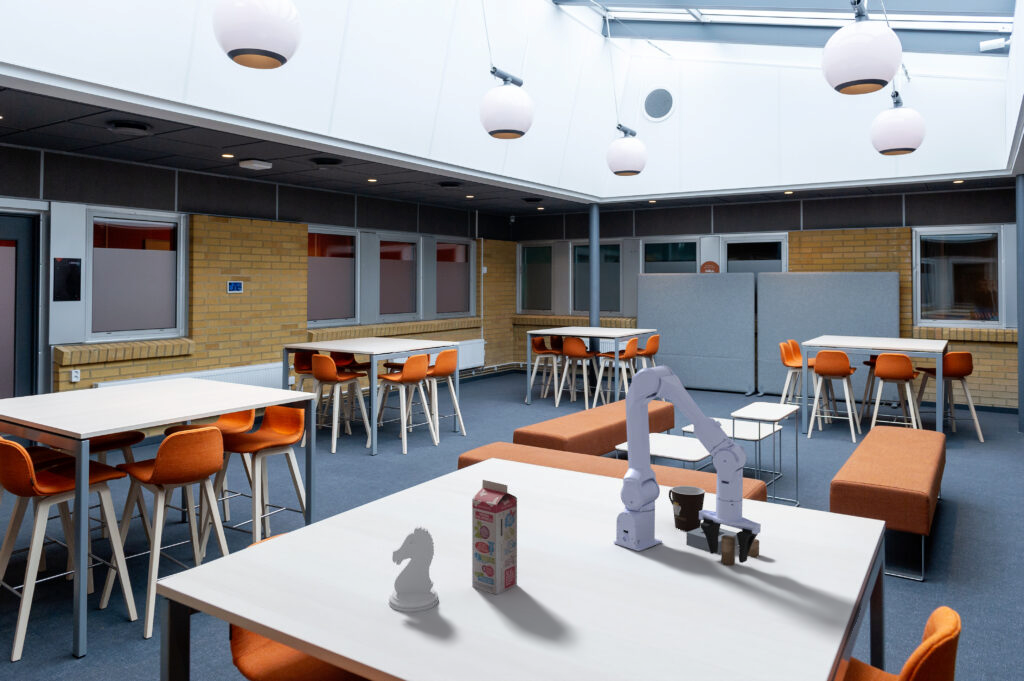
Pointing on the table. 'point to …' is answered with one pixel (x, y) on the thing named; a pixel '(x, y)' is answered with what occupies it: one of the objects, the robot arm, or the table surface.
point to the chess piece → (414, 574)
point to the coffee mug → (687, 506)
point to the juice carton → (494, 538)
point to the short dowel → (754, 549)
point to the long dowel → (728, 550)
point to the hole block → (700, 541)
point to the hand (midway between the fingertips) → (728, 557)
